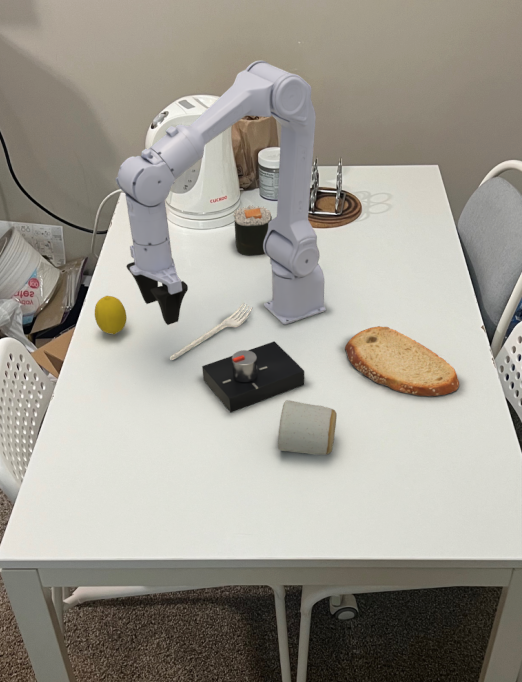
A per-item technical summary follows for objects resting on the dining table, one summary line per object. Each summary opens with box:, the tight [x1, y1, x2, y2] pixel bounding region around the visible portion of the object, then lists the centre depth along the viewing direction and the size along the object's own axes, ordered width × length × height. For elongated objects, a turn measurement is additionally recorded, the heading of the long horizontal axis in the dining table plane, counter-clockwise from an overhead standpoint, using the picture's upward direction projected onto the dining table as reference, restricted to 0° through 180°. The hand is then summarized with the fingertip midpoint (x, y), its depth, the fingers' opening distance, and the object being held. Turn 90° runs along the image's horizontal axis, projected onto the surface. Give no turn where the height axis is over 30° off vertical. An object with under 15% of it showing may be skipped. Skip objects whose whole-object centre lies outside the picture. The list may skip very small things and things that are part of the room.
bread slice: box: [344, 325, 460, 397], centre depth 128 cm, size 18×18×4 cm
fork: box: [169, 302, 254, 361], centre depth 136 cm, size 3×20×2 cm, turn 140°
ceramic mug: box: [277, 399, 338, 456], centre depth 113 cm, size 11×8×8 cm
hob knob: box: [231, 349, 257, 382], centre depth 122 cm, size 4×4×4 cm
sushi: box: [232, 205, 273, 256], centre depth 159 cm, size 8×8×8 cm
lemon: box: [94, 295, 127, 335], centre depth 135 cm, size 6×6×8 cm
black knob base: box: [201, 341, 305, 414], centre depth 125 cm, size 14×10×3 cm
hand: (161, 311), depth 125 cm, fingers open, 7 cm apart
